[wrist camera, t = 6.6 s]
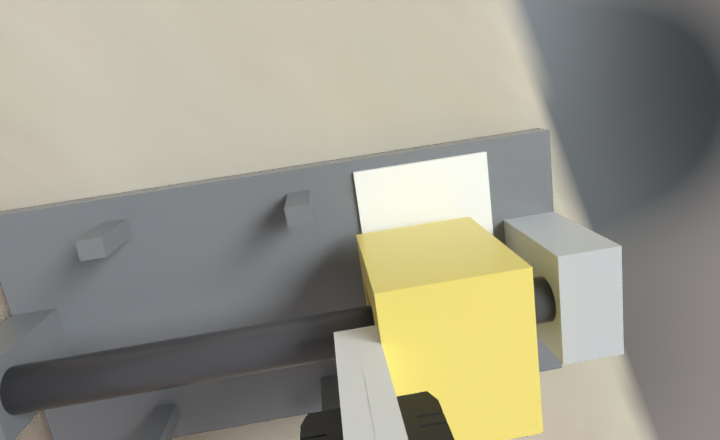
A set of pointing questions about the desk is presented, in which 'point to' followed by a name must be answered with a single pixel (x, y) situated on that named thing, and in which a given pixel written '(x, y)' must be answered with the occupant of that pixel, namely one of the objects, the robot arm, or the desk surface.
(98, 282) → the gray rail plate
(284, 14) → the desk surface
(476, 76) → the desk surface
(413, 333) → the sleeve
